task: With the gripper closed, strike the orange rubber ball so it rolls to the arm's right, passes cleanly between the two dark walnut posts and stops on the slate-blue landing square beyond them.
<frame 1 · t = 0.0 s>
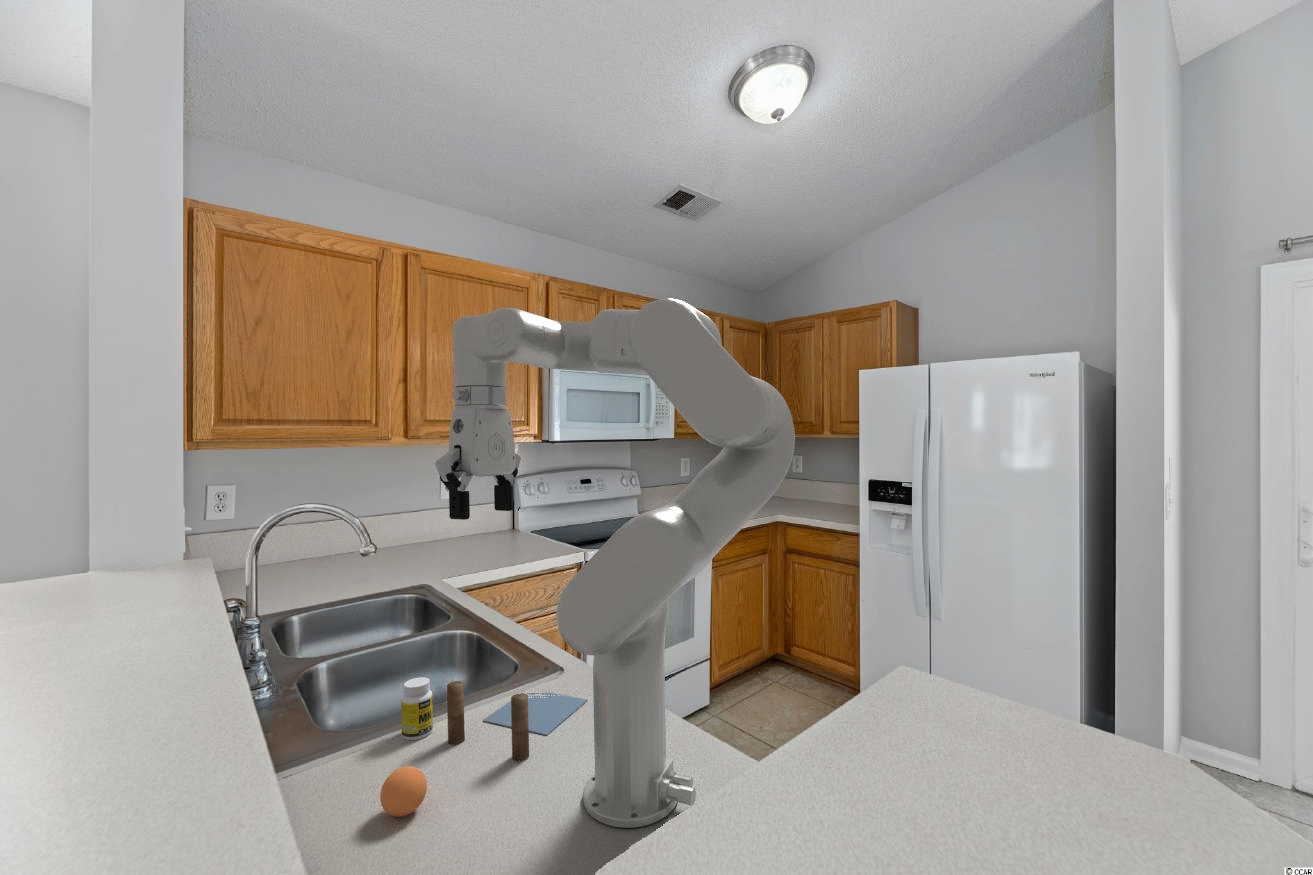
hand: (482, 514, 84), 37 cm above the countertop, tool pointing down, fingers open, 9 cm apart
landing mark: (537, 710, 99), on the countertop
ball: (403, 790, 72), on the countertop
post far: (456, 740, 89), on the countertop
post near: (520, 756, 85), on the countertop
supplement bottle: (417, 734, 92), on the countertop
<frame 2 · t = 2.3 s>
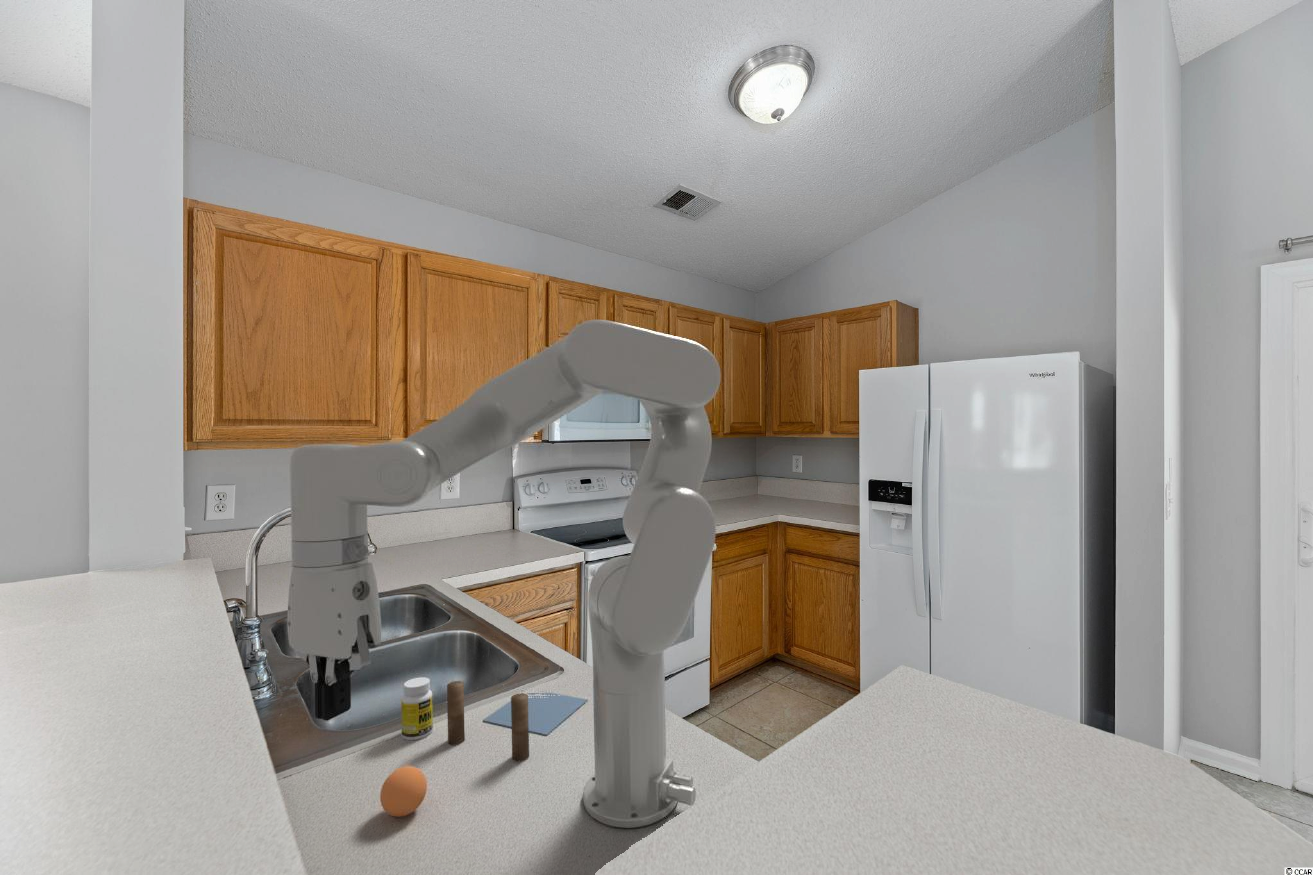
hand: (333, 713, 64), 17 cm above the countertop, tool pointing down, fingers closed
nothing on the countertop moved.
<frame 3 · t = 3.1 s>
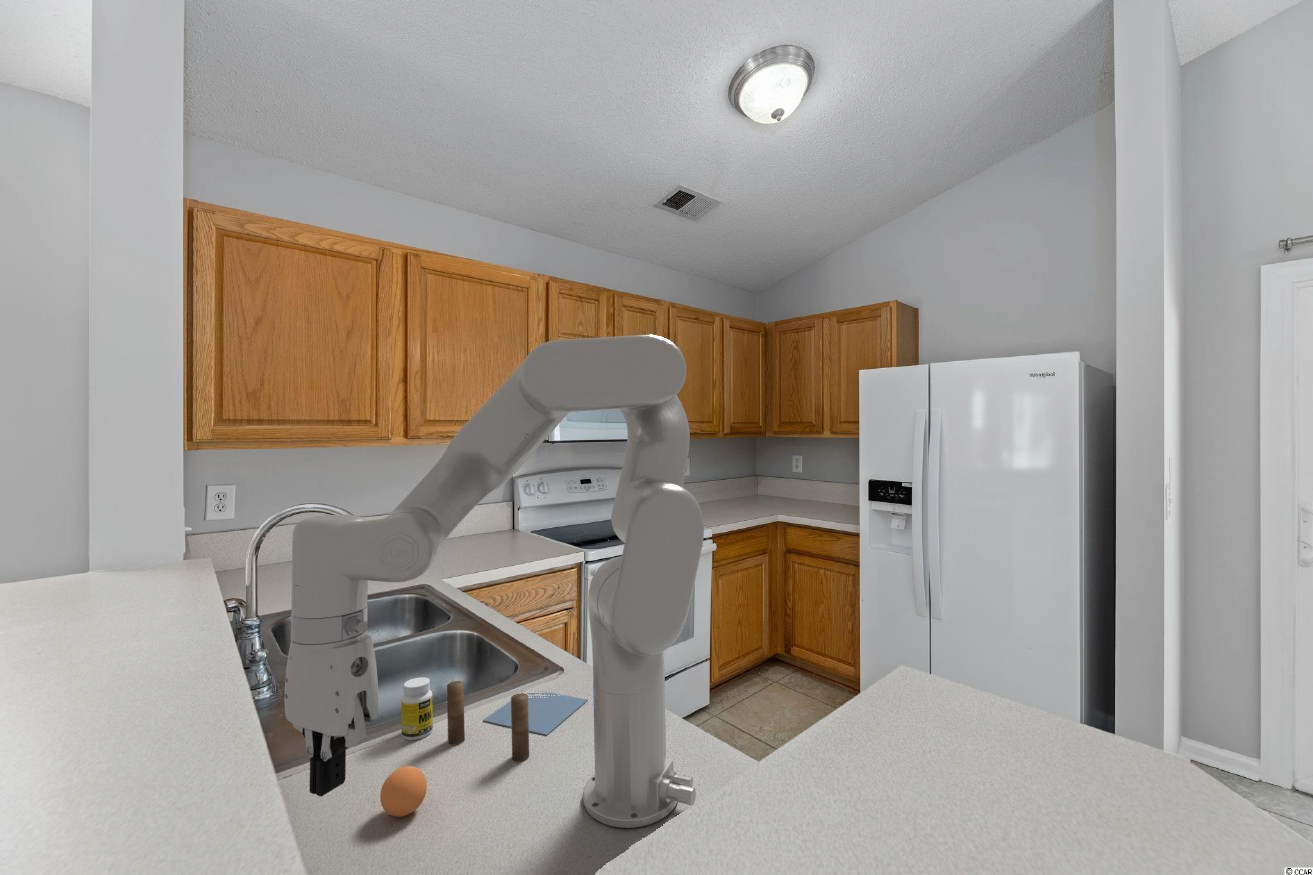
hand: (327, 787, 63), 9 cm above the countertop, tool pointing down, fingers closed
nothing on the countertop moved.
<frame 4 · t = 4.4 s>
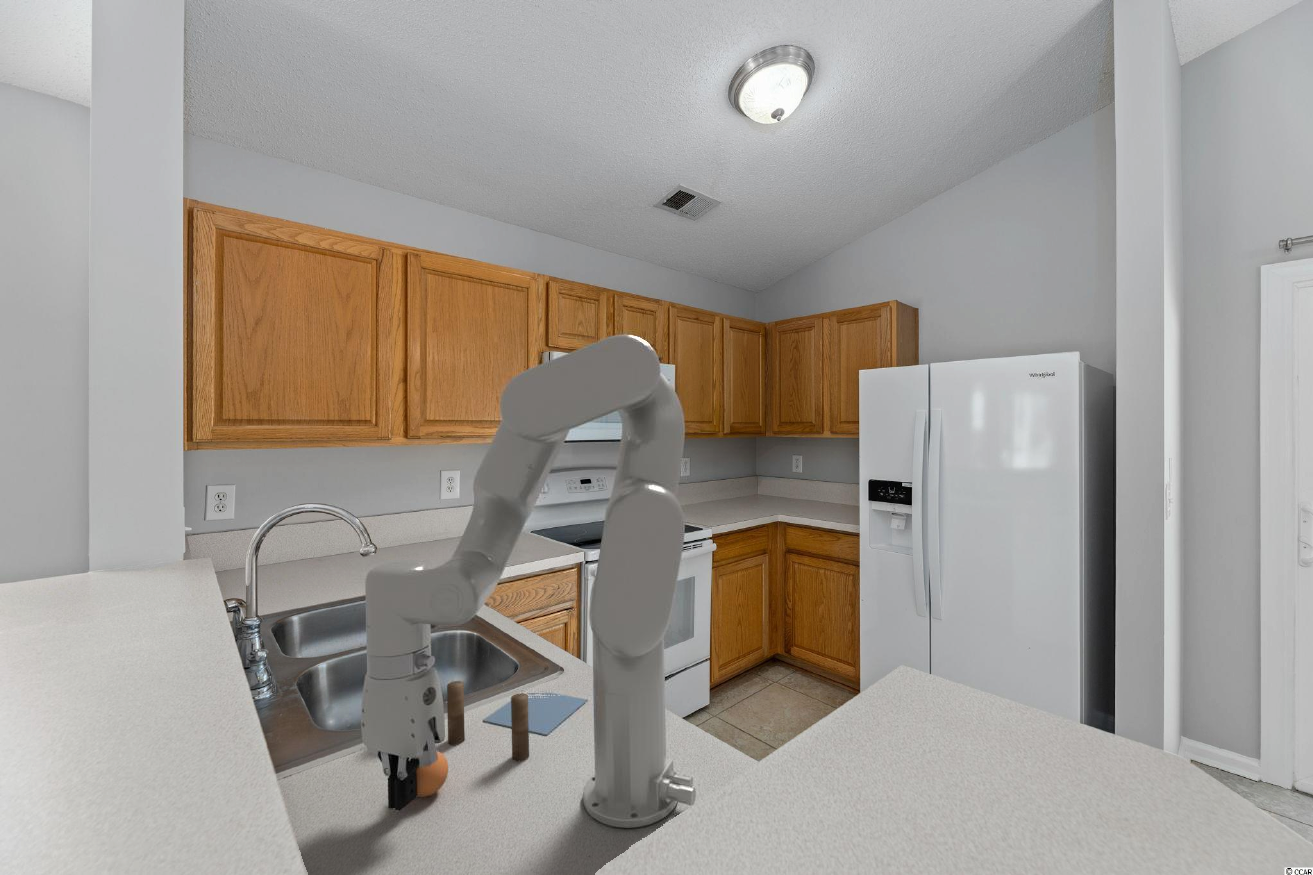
hand: (403, 802, 72), 1 cm above the countertop, tool pointing down, fingers closed
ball: (426, 772, 76), on the countertop
everything else where it was.
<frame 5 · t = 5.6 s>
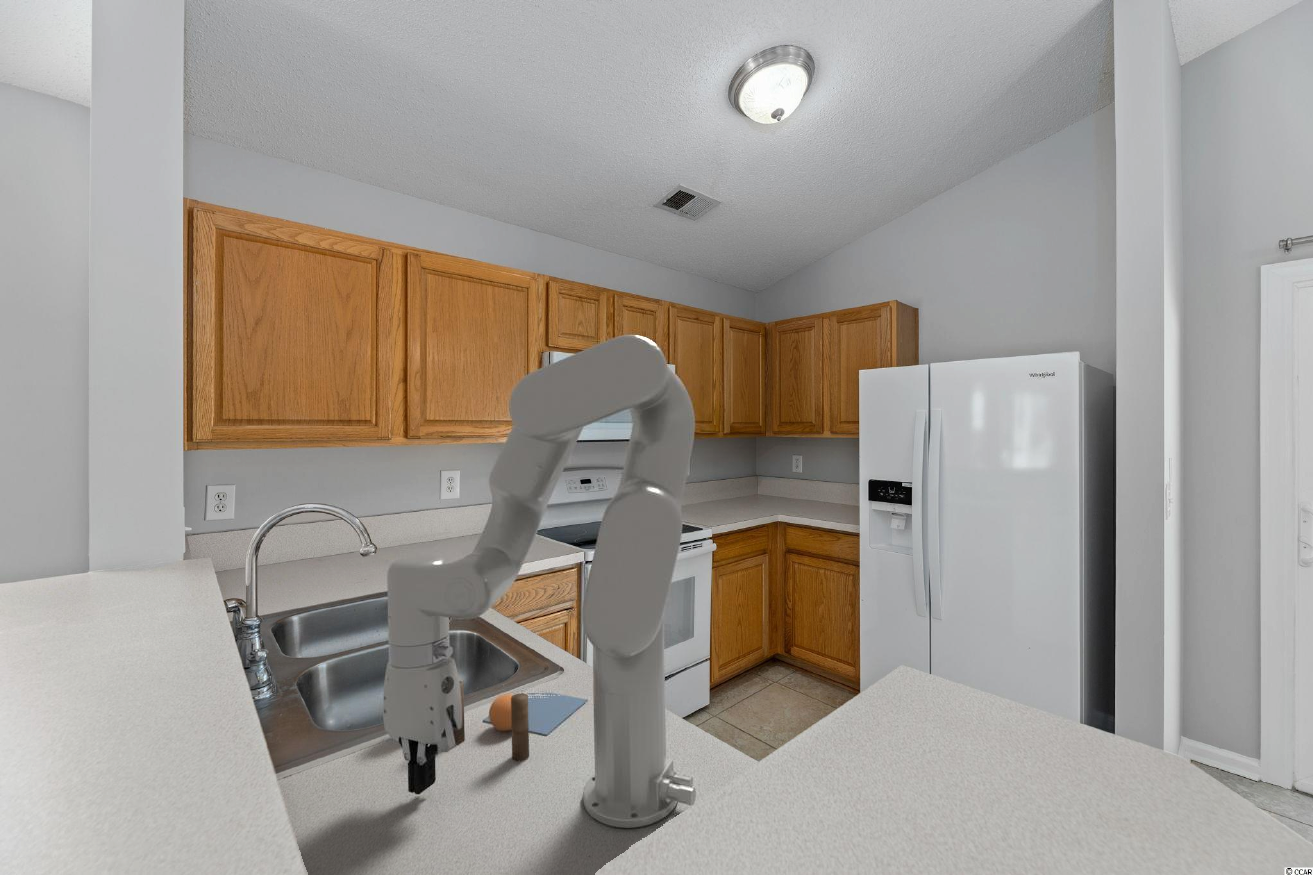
hand: (422, 787, 75), 2 cm above the countertop, tool pointing down, fingers closed
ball: (506, 712, 93), on the countertop
everything else where it was.
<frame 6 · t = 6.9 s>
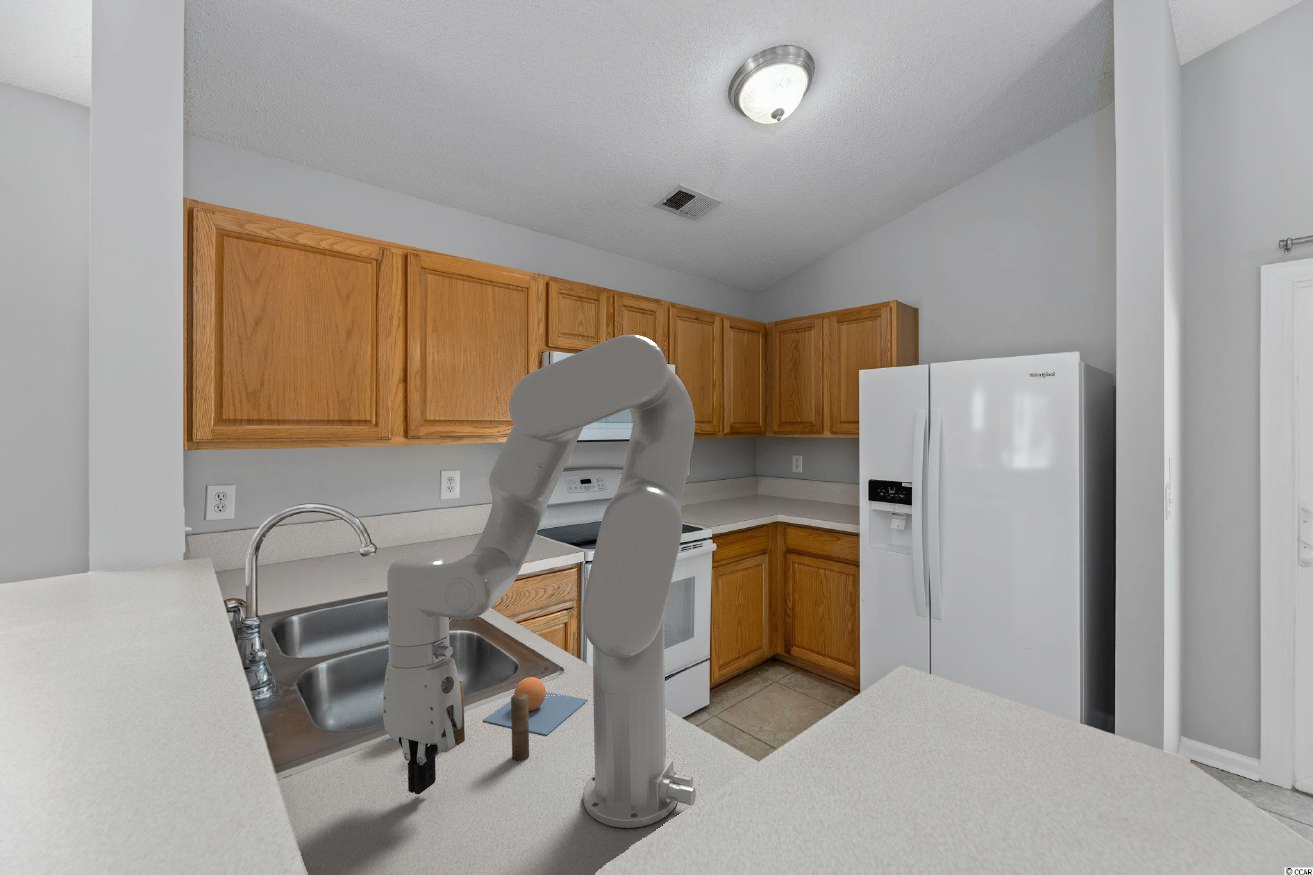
hand: (422, 787, 75), 2 cm above the countertop, tool pointing down, fingers closed
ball: (529, 693, 99), on the countertop
everything else where it was.
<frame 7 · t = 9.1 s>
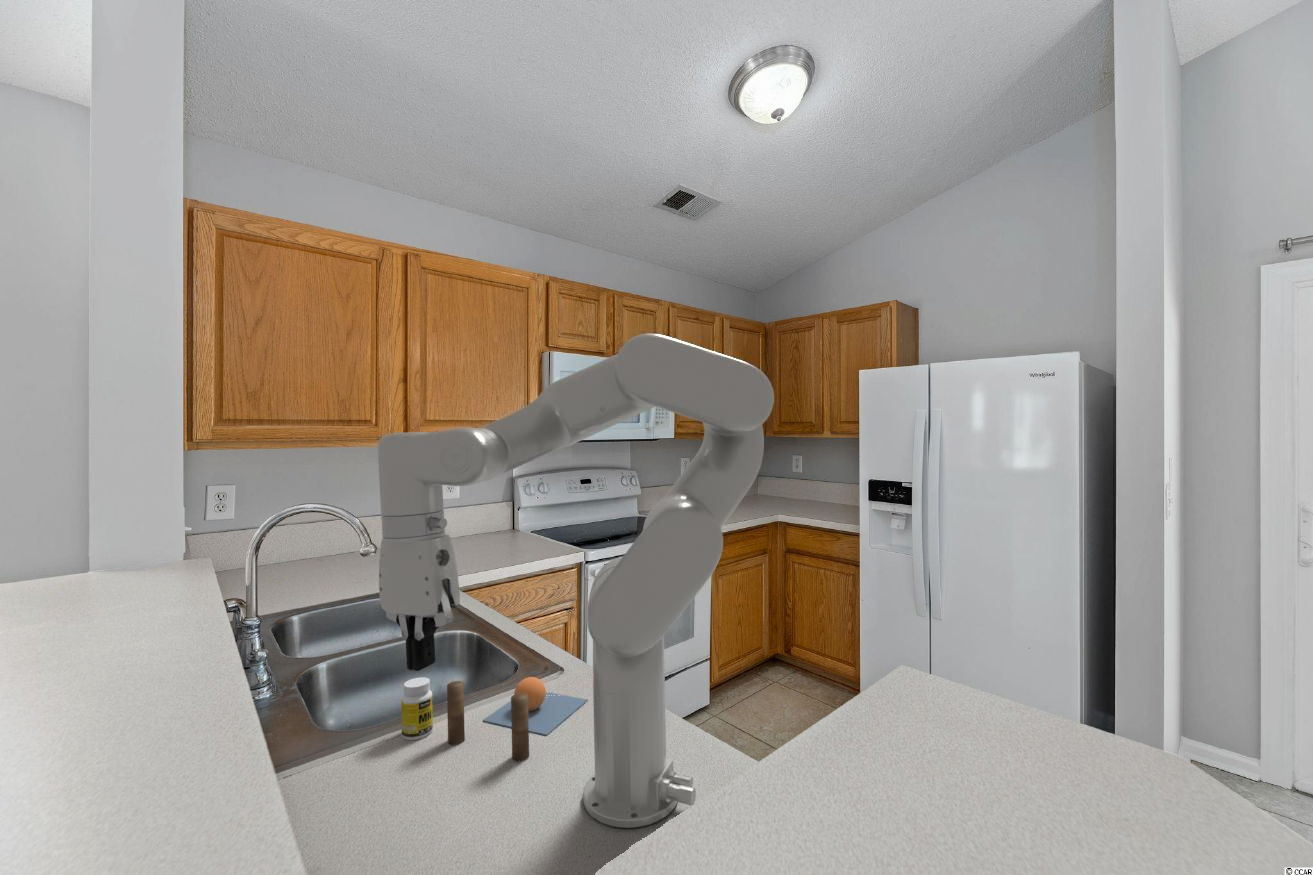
hand: (421, 666, 73), 18 cm above the countertop, tool pointing down, fingers closed
nothing on the countertop moved.
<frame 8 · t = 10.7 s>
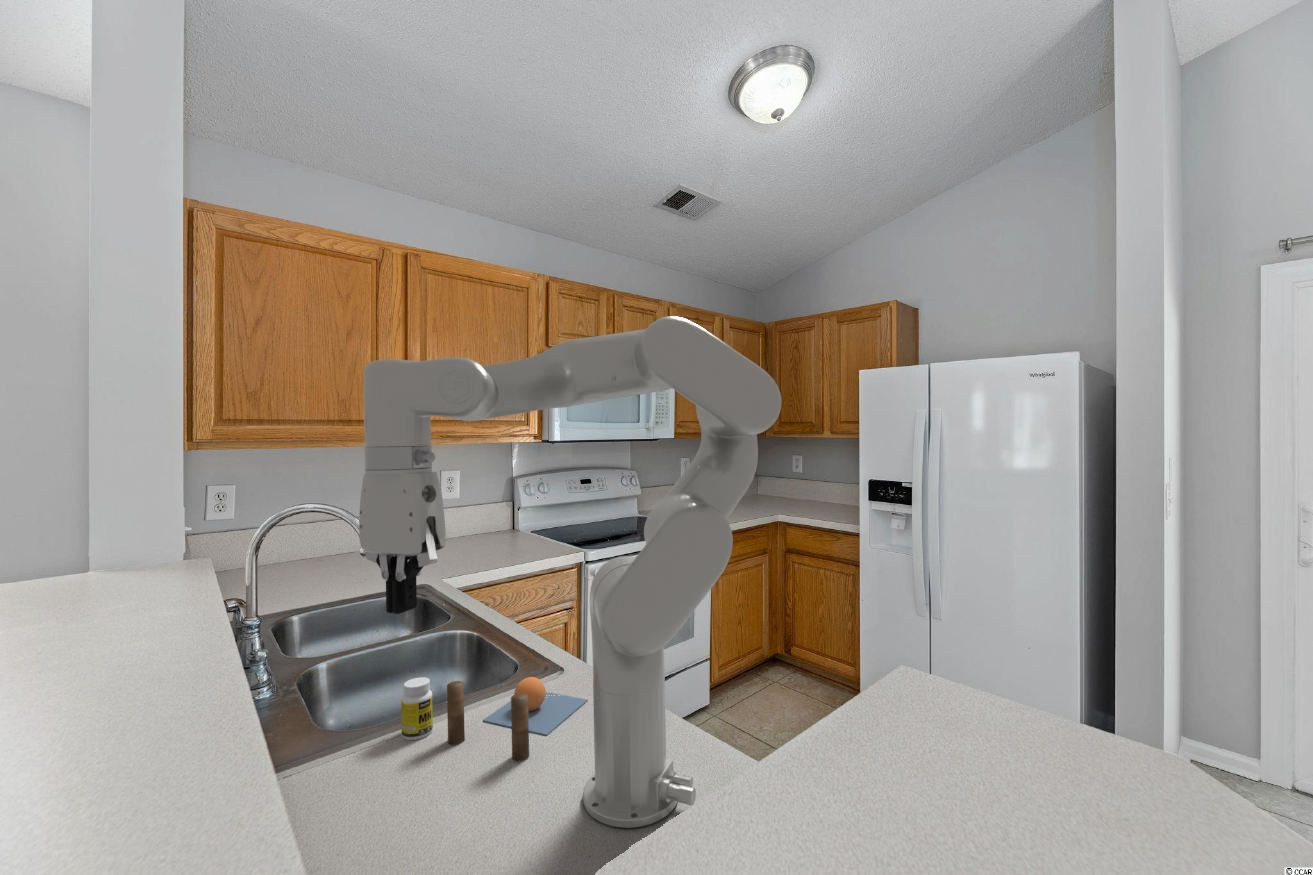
hand: (401, 610, 69), 27 cm above the countertop, tool pointing down, fingers closed
nothing on the countertop moved.
at the end: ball 1.4 cm from the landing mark (horizontally); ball never touched post near; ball never touched post far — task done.
